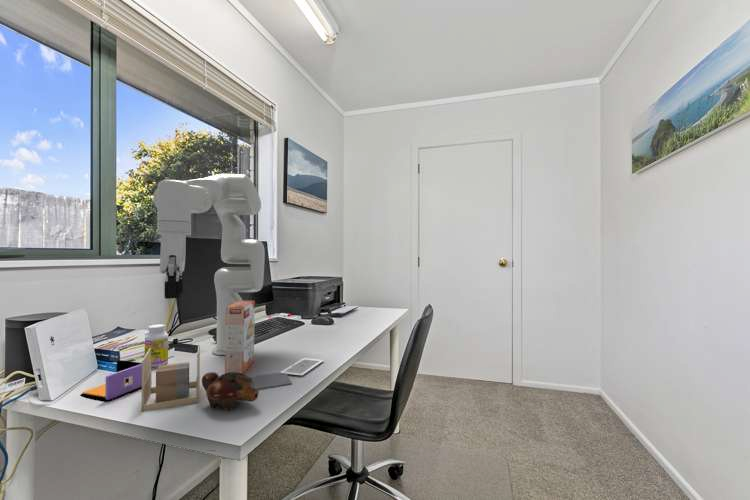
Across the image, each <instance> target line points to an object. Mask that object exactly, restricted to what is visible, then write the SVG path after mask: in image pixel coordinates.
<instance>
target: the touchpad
mask: <svg viewBox="0 0 750 500" xmlns="http://www.w3.org/2000/svg"><path fill="white" fill-rule="evenodd" d="M324 361H325V360H324V359H318V358H307V357H302V358H301V359H299V360H298V361H296V362H294V363H293V364H291V365H290V366H288V367H286V368H284V369H282V370H280V372H278V373H286V374H287V375H294V376H304V375H305V374H307V373H308V372H309V371H310V370H311V371H312V369H314V368H316V367H317V366H318V365H320V364H321V363H322V362H324Z"/></svg>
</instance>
